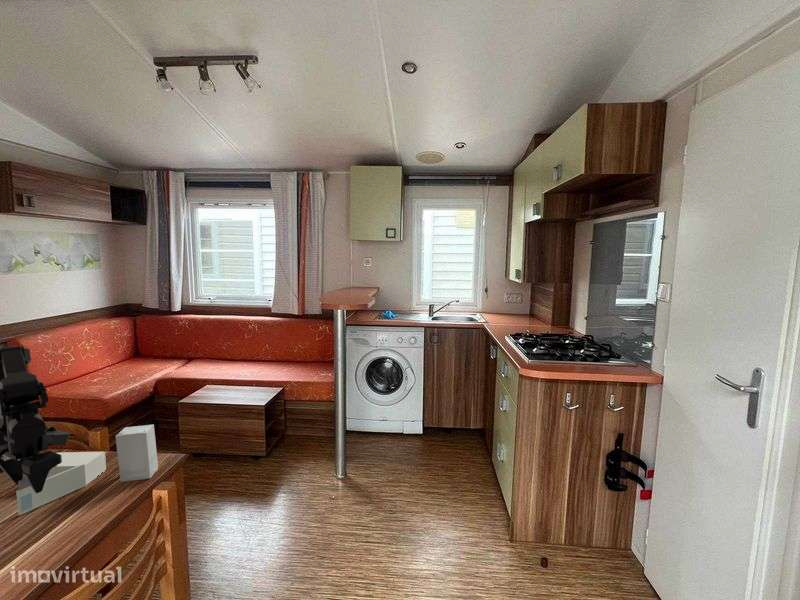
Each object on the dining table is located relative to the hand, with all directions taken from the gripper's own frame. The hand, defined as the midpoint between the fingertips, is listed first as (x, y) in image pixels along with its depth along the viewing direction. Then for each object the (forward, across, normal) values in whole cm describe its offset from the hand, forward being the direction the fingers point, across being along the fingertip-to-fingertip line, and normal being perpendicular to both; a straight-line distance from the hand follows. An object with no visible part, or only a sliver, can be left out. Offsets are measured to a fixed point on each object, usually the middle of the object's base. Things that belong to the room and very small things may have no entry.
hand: (28, 487), depth 92 cm
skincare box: (+7, -9, -21) cm, 24 cm away
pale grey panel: (+6, 0, -5) cm, 8 cm away
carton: (+7, +8, -13) cm, 17 cm away
